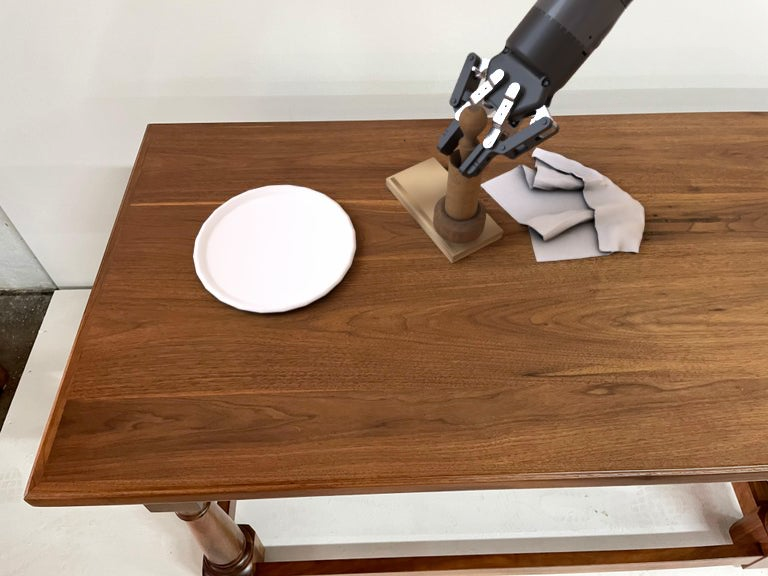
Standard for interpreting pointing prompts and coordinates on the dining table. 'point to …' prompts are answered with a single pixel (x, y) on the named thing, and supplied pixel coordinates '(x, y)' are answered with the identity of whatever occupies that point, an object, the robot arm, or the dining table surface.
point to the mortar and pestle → (463, 186)
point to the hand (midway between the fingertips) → (453, 163)
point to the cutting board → (419, 198)
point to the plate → (274, 249)
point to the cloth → (569, 209)
